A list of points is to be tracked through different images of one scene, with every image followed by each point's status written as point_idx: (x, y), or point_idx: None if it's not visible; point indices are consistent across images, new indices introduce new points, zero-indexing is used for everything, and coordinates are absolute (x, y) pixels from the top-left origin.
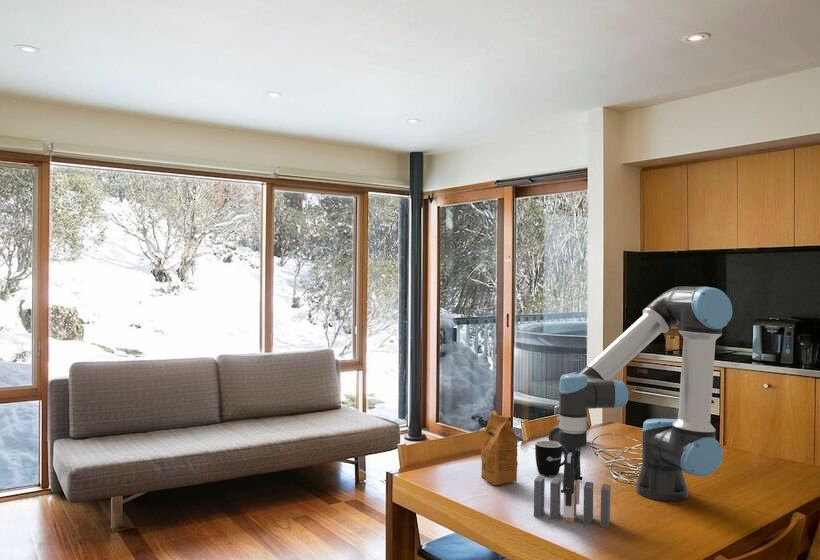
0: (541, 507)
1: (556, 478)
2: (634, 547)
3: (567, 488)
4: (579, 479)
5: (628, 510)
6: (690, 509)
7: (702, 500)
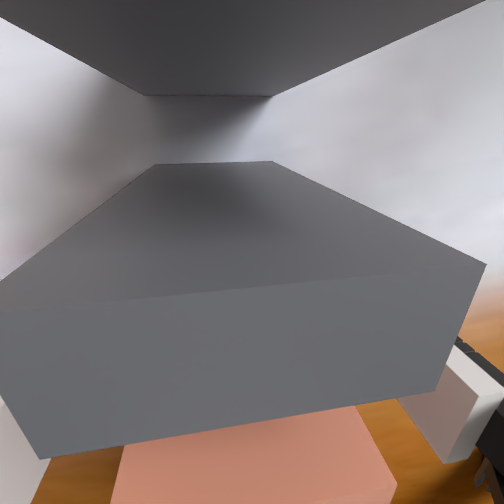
0: (148, 86)
1: (423, 336)
2: (52, 497)
3: (121, 480)
4: (484, 472)
5: (394, 411)
6: (429, 495)
7: (491, 494)
